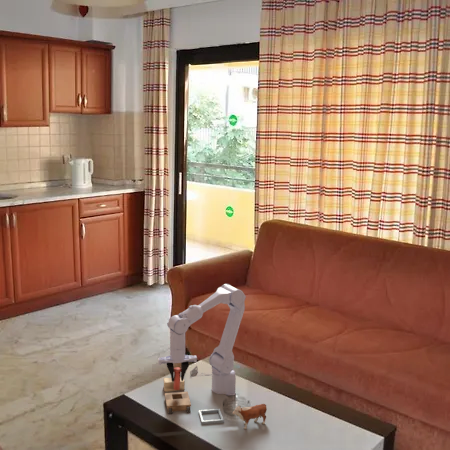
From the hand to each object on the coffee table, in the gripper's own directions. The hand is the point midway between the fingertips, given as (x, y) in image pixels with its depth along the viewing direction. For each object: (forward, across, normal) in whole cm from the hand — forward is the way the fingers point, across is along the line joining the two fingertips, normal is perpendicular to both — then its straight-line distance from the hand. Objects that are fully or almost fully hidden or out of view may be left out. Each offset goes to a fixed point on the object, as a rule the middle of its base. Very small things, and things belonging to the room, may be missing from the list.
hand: (177, 380), depth 213 cm
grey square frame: (+10, -11, +13) cm, 20 cm away
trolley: (+10, 0, +2) cm, 10 cm away
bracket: (+11, -13, -21) cm, 27 cm away
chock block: (+10, 0, -11) cm, 15 cm away
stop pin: (+3, 0, 0) cm, 4 cm away
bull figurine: (+10, -24, +19) cm, 32 cm away
